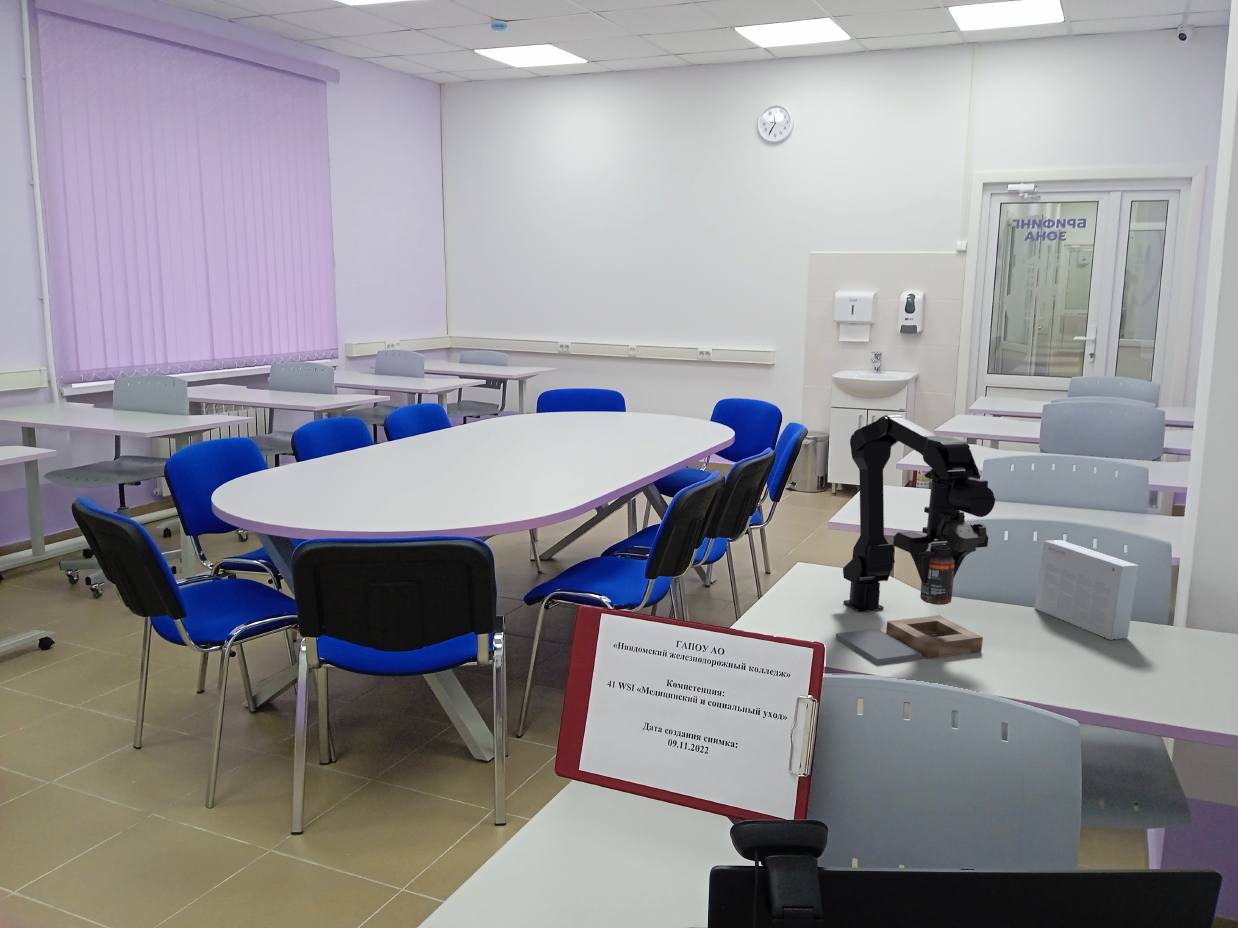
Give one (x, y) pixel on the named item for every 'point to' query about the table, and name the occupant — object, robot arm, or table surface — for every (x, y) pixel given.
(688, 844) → the table surface
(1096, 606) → the skincare box
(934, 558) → the supplement bottle
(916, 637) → the collar block
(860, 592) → the robot arm
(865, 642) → the rubber mat
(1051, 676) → the table surface
